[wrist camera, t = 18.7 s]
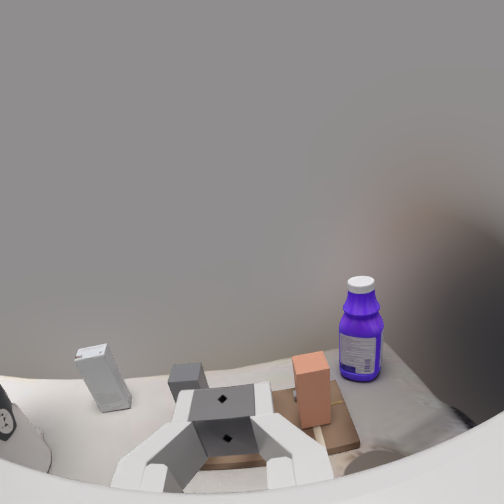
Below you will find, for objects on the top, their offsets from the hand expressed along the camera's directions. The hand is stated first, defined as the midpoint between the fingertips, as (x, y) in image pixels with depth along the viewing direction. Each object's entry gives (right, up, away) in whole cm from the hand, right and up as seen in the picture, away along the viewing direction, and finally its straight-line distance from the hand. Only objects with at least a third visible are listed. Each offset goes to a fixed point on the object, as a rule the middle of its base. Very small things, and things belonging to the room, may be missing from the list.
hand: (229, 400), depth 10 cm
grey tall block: (-6, -20, +31) cm, 38 cm away
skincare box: (-24, -23, +39) cm, 51 cm away
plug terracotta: (+9, -18, +29) cm, 36 cm away
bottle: (+19, -16, +39) cm, 46 cm away
